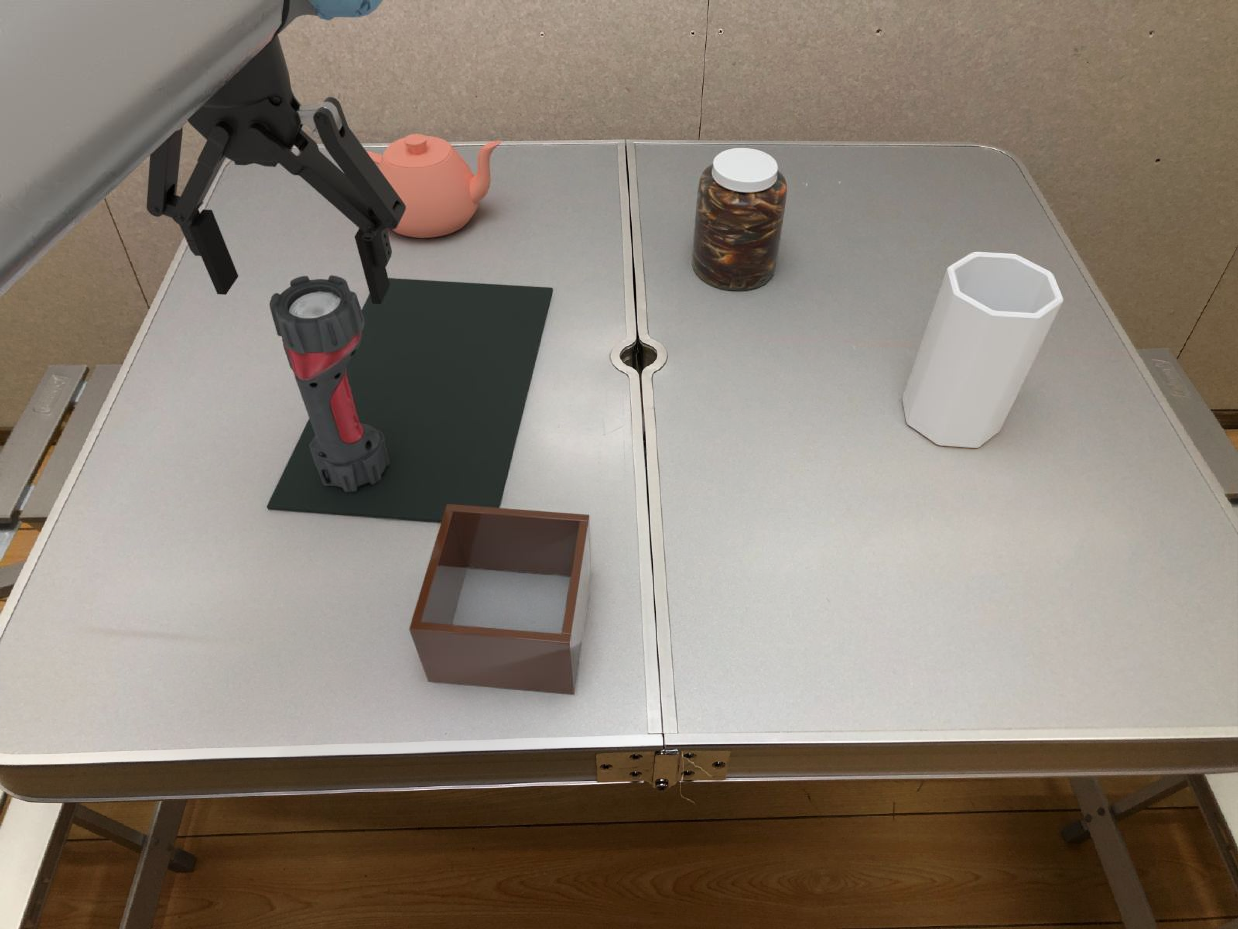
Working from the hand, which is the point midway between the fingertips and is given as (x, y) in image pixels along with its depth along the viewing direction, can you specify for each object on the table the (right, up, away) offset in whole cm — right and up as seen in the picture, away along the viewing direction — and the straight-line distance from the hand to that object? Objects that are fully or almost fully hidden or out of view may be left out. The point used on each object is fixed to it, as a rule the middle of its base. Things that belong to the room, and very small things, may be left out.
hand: (304, 290), depth 72 cm
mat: (+4, -6, +27) cm, 28 cm away
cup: (+65, -9, +24) cm, 70 cm away
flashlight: (0, -16, +18) cm, 24 cm away
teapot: (0, +22, +52) cm, 56 cm away
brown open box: (+17, -30, +6) cm, 35 cm away
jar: (+43, +12, +44) cm, 63 cm away
